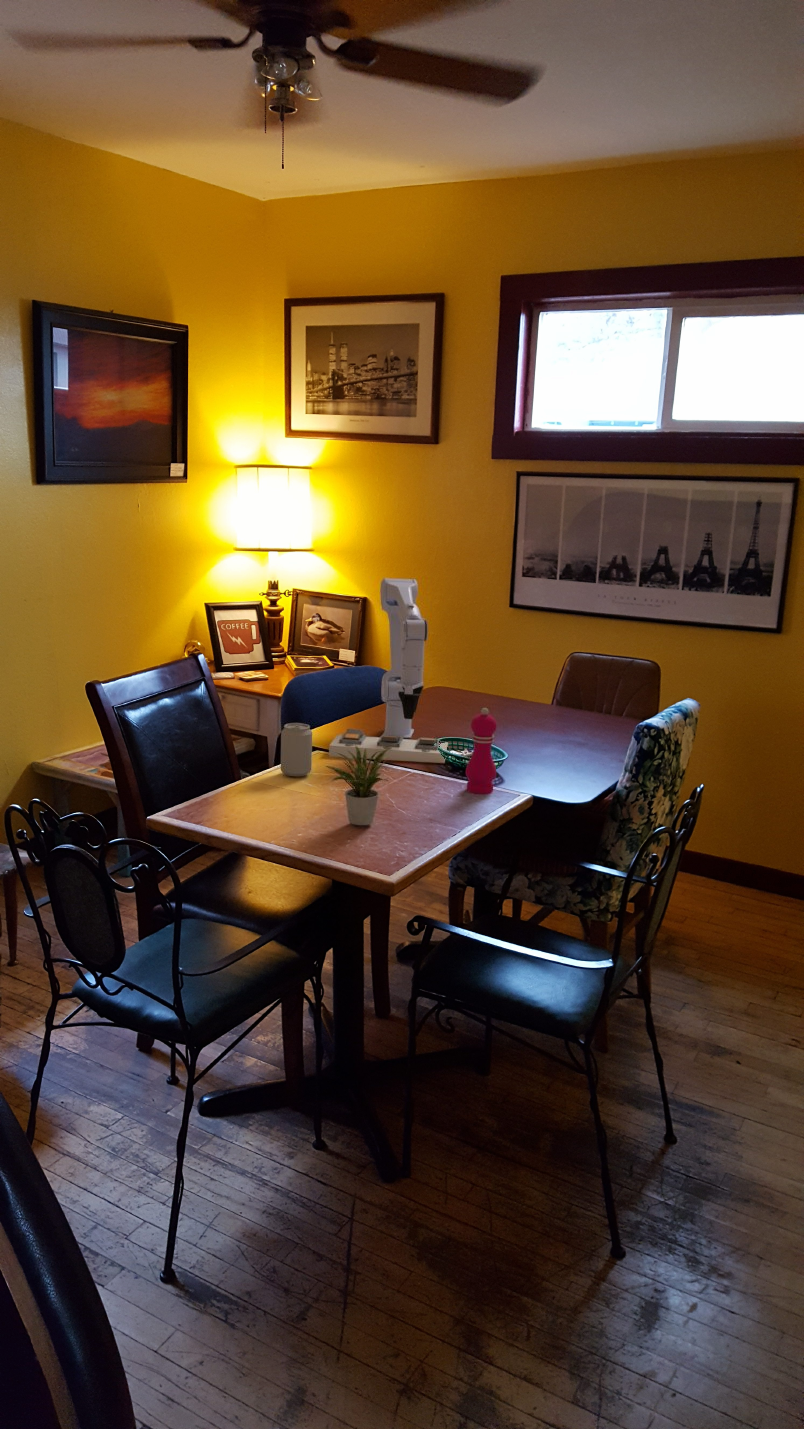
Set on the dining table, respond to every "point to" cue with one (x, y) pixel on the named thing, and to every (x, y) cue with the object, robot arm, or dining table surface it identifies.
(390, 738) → the rocker
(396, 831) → the dining table surface
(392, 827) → the dining table surface
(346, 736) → the rocker
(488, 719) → the pepper mill
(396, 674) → the robot arm
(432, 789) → the dining table surface
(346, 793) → the house plant
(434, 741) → the rocker
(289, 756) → the can
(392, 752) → the power strip
